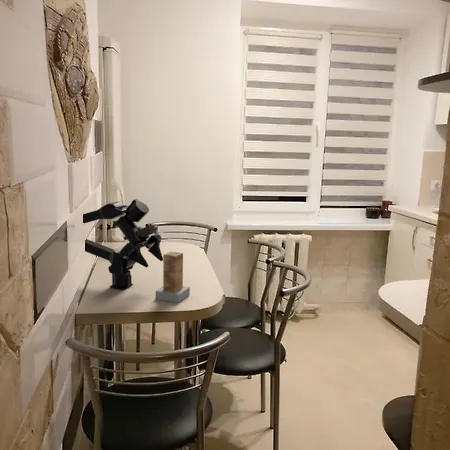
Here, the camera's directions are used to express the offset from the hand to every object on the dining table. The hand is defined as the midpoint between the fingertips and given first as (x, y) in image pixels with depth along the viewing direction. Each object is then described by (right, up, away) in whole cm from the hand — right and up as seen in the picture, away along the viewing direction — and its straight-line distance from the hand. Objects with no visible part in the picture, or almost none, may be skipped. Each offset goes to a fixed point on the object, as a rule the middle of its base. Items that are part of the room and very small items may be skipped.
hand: (155, 263), depth 162 cm
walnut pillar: (+7, -9, -2) cm, 11 cm away
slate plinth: (+7, -12, -1) cm, 14 cm away
